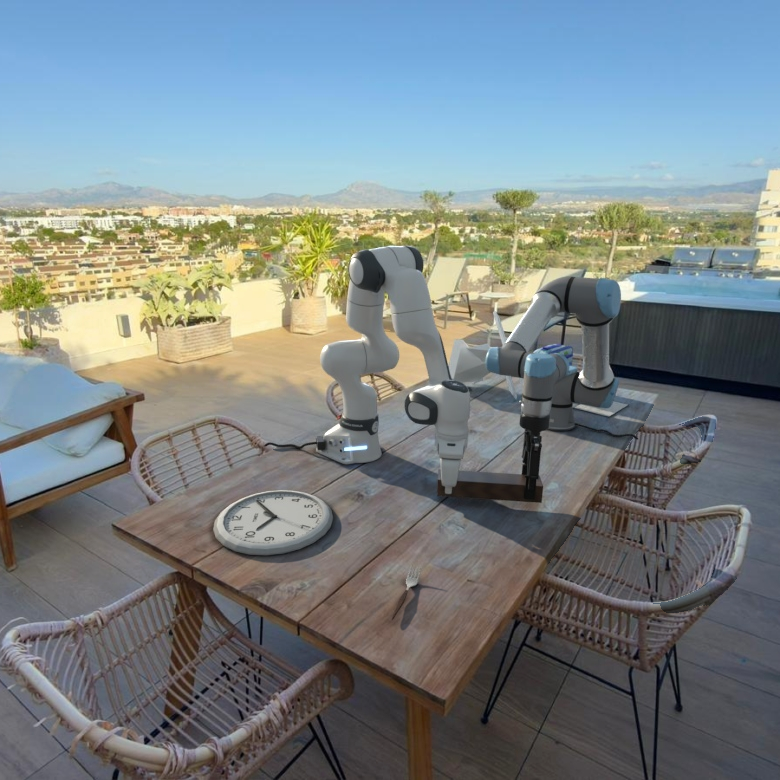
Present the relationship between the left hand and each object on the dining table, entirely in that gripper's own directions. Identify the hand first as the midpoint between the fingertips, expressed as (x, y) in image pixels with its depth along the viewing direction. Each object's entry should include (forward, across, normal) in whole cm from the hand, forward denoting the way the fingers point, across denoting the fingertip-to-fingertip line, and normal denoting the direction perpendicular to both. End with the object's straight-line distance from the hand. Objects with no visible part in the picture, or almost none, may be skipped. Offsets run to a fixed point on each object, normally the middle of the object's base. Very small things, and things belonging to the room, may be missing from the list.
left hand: (448, 486), depth 146 cm
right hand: (0, 0, +22) cm, 22 cm away
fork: (+4, +42, -8) cm, 43 cm away
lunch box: (+4, -115, +46) cm, 124 cm away
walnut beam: (+2, 0, +11) cm, 11 cm away
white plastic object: (+4, -103, +13) cm, 104 cm away
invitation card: (+4, -91, +65) cm, 112 cm away
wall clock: (+4, +18, -44) cm, 48 cm away
